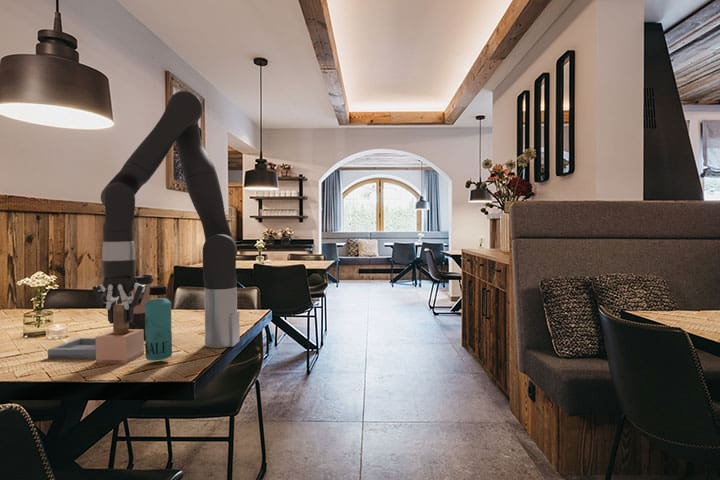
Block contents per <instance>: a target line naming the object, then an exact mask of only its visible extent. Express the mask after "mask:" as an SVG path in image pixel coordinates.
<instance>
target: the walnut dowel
mask: <svg viewBox="0 0 720 480" xmlns="http://www.w3.org/2000/svg"><path fill="white" fill-rule="evenodd" d="M124 310H125V307H124V303H123V302H122V303H117V304H115V305H113V324H112V327H113V329H112V330H113V335H126V334H128V333H129V325H128V323H125V322H124Z"/></svg>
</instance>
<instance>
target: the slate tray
mask: <svg viewBox="0 0 720 480" xmlns="http://www.w3.org/2000/svg"><path fill="white" fill-rule="evenodd" d="M47 359H48V360H49V359H50V360H52V359H54V360H57V359H58V360H62V359H68V360H72V359H74V360H75V359H76V360H83V359H84V360H89V359H90V360H92V359H93V360H96V337H79V338H76V339H73V340H70V341H68V342H65V343H61V344H59V345H56V346H53V347H51V348H48V349H47Z"/></svg>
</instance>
